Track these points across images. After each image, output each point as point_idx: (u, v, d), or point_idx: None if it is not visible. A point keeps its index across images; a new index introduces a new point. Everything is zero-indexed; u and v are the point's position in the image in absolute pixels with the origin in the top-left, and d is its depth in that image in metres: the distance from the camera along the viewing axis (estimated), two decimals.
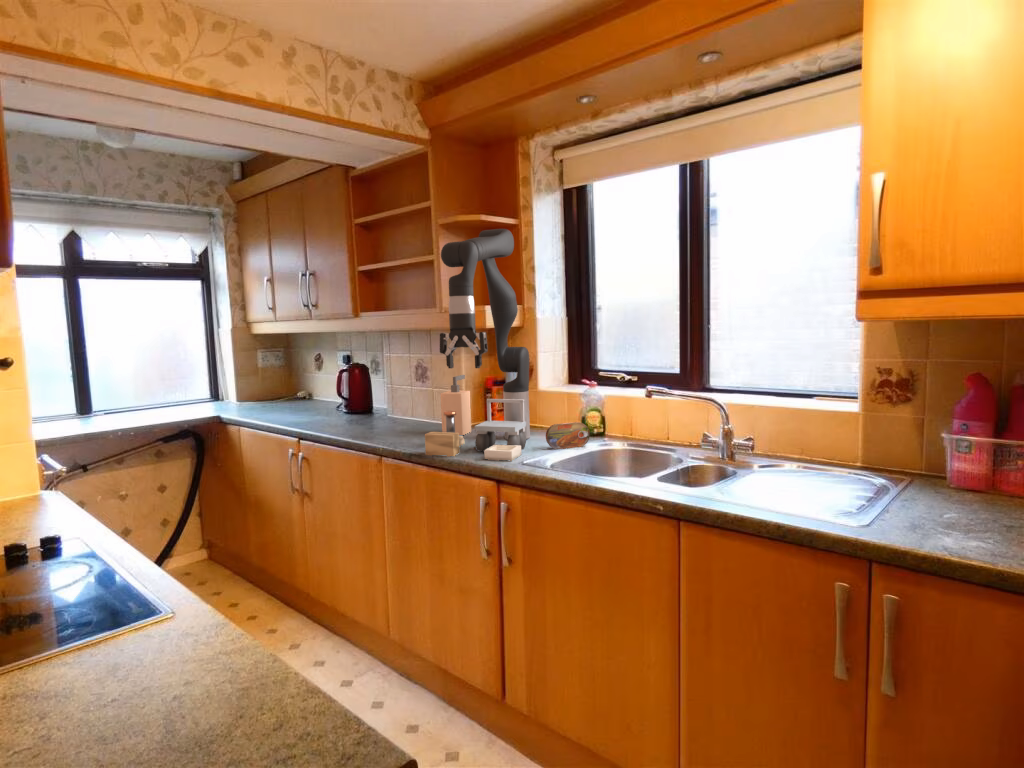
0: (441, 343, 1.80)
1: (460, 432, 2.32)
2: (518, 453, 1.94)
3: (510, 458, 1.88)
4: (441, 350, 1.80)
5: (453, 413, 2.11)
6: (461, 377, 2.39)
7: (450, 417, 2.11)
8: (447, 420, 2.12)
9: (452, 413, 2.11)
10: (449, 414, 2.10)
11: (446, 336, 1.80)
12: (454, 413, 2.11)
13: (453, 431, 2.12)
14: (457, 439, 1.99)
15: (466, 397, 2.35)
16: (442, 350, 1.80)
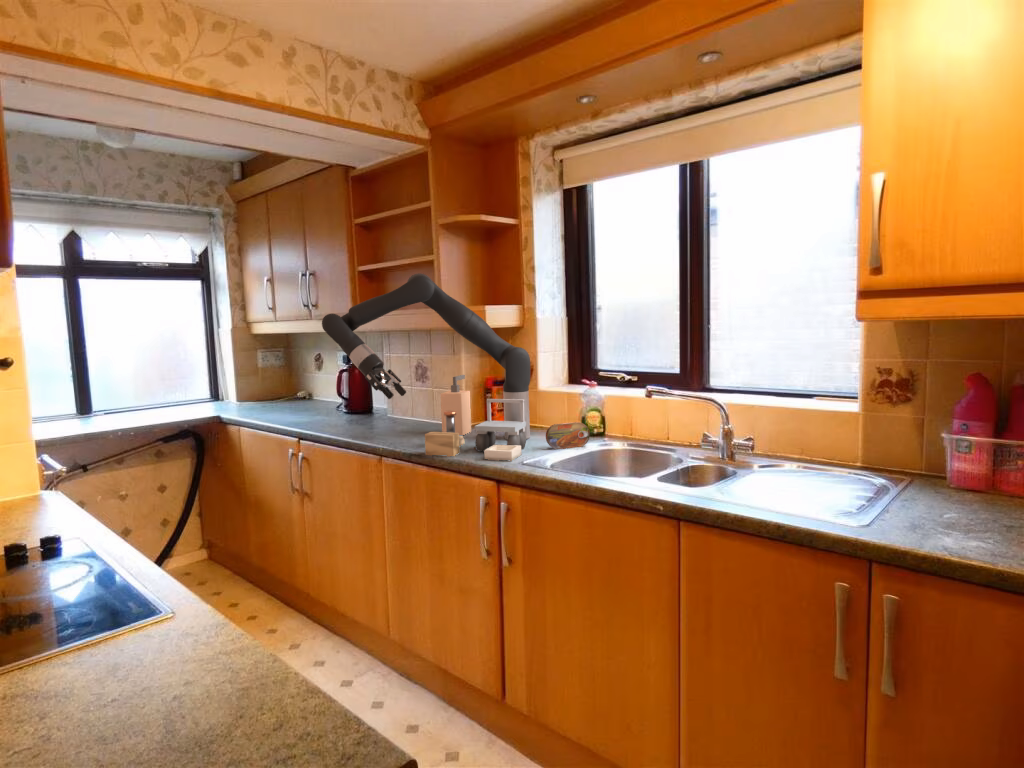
0: None
1: (460, 432, 2.32)
2: (518, 453, 1.94)
3: (510, 458, 1.88)
4: None
5: (453, 413, 2.11)
6: (461, 377, 2.39)
7: (450, 417, 2.11)
8: (447, 420, 2.12)
9: (452, 413, 2.11)
10: (449, 414, 2.10)
11: None
12: (454, 413, 2.11)
13: (453, 431, 2.12)
14: (457, 439, 1.99)
15: (466, 397, 2.35)
16: None
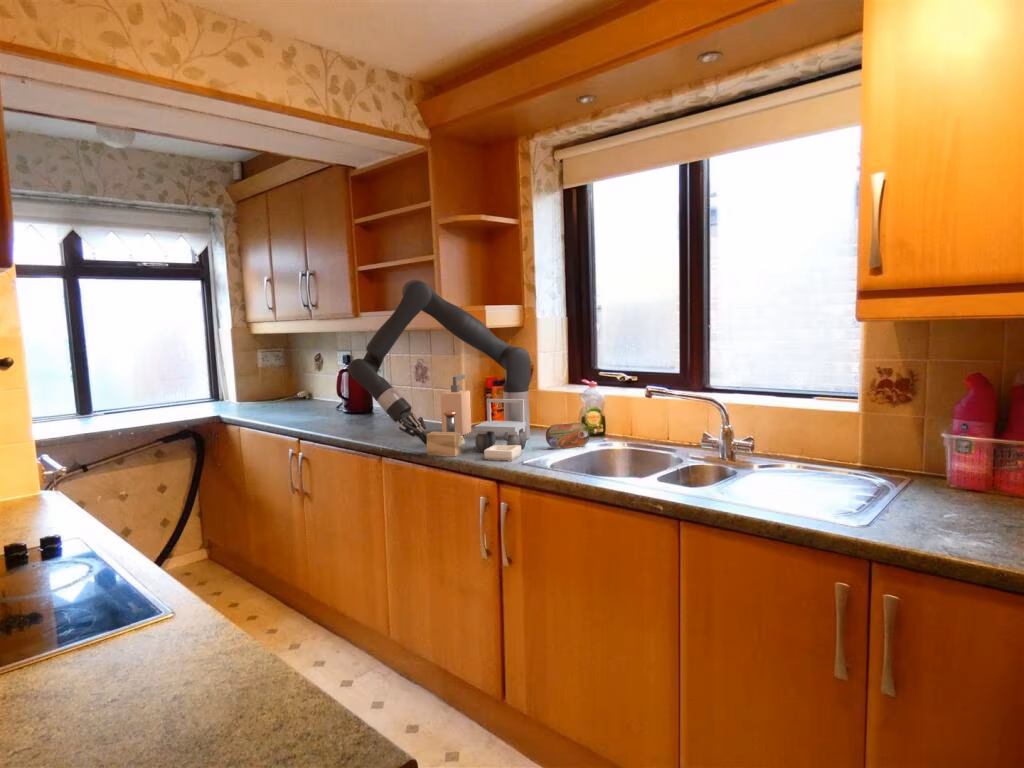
0: None
1: (460, 432, 2.32)
2: (518, 453, 1.94)
3: (510, 458, 1.88)
4: None
5: (452, 413, 2.10)
6: (461, 377, 2.39)
7: (450, 417, 2.11)
8: (447, 420, 2.11)
9: (452, 413, 2.10)
10: (449, 414, 2.10)
11: None
12: (454, 413, 2.11)
13: (453, 431, 2.12)
14: (458, 439, 1.99)
15: (466, 397, 2.35)
16: None
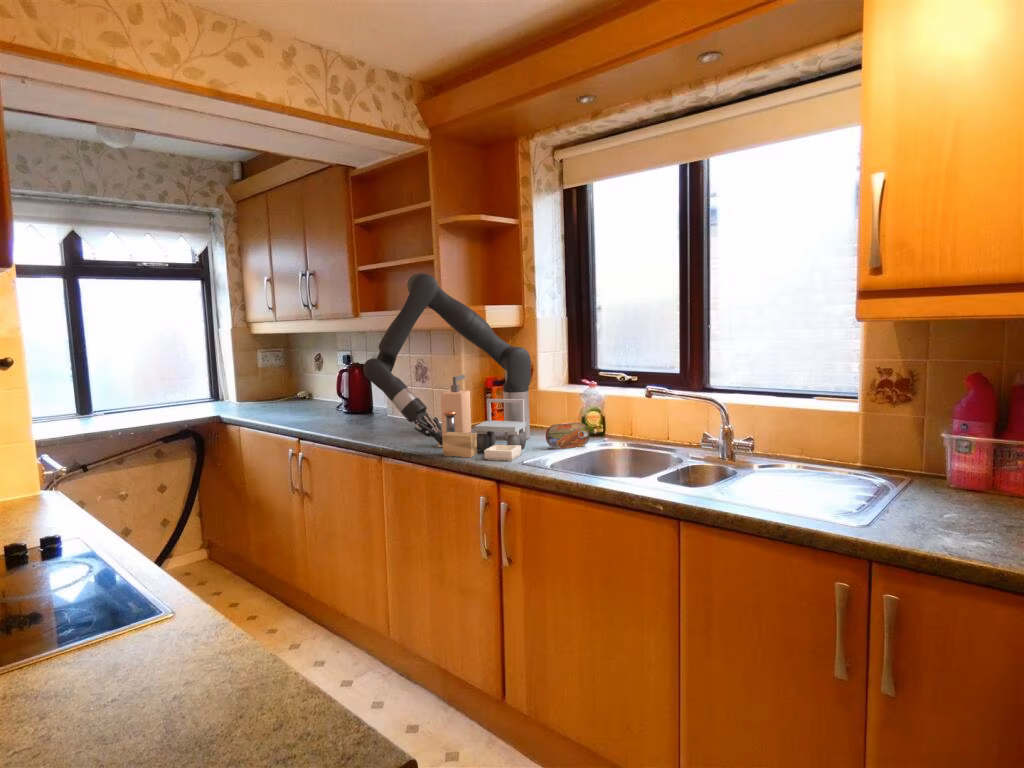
0: None
1: (460, 432, 2.32)
2: (518, 453, 1.94)
3: (510, 458, 1.88)
4: None
5: (453, 413, 2.10)
6: (461, 377, 2.39)
7: (450, 417, 2.11)
8: (447, 420, 2.11)
9: (452, 413, 2.10)
10: (449, 414, 2.10)
11: None
12: (454, 413, 2.11)
13: (453, 431, 2.12)
14: (474, 440, 1.97)
15: (466, 397, 2.35)
16: None
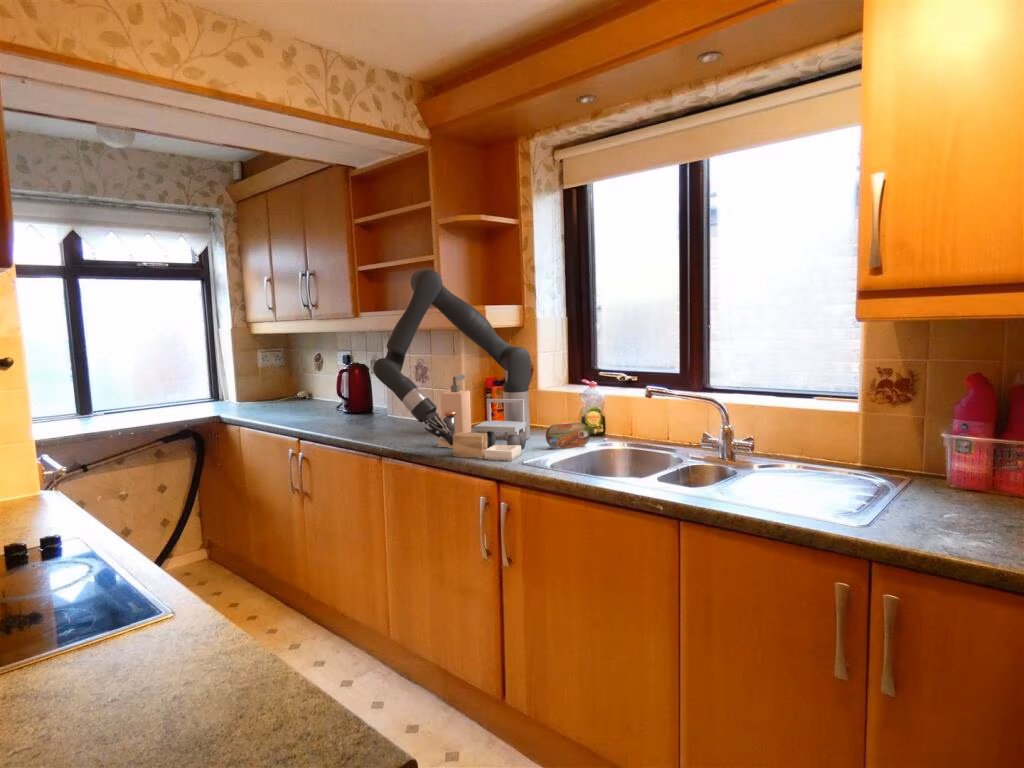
0: None
1: (460, 432, 2.32)
2: (518, 453, 1.94)
3: (510, 458, 1.88)
4: None
5: (452, 413, 2.10)
6: (461, 377, 2.39)
7: (450, 417, 2.11)
8: None
9: (452, 413, 2.10)
10: (449, 414, 2.10)
11: None
12: (454, 413, 2.11)
13: (453, 431, 2.12)
14: (485, 440, 1.96)
15: (466, 397, 2.35)
16: None
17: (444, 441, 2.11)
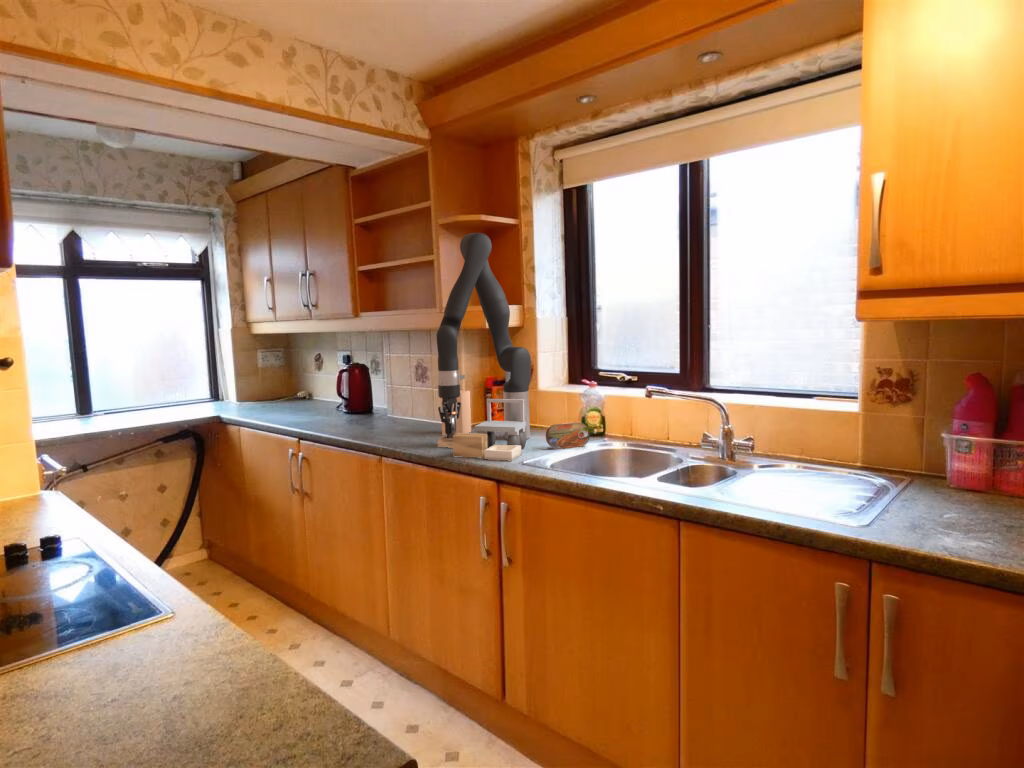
0: None
1: (460, 432, 2.32)
2: (518, 453, 1.94)
3: (510, 458, 1.88)
4: None
5: (453, 413, 2.10)
6: (461, 377, 2.39)
7: None
8: None
9: None
10: None
11: None
12: (454, 413, 2.11)
13: (453, 431, 2.12)
14: (485, 440, 1.96)
15: (466, 397, 2.35)
16: None
17: (444, 441, 2.11)
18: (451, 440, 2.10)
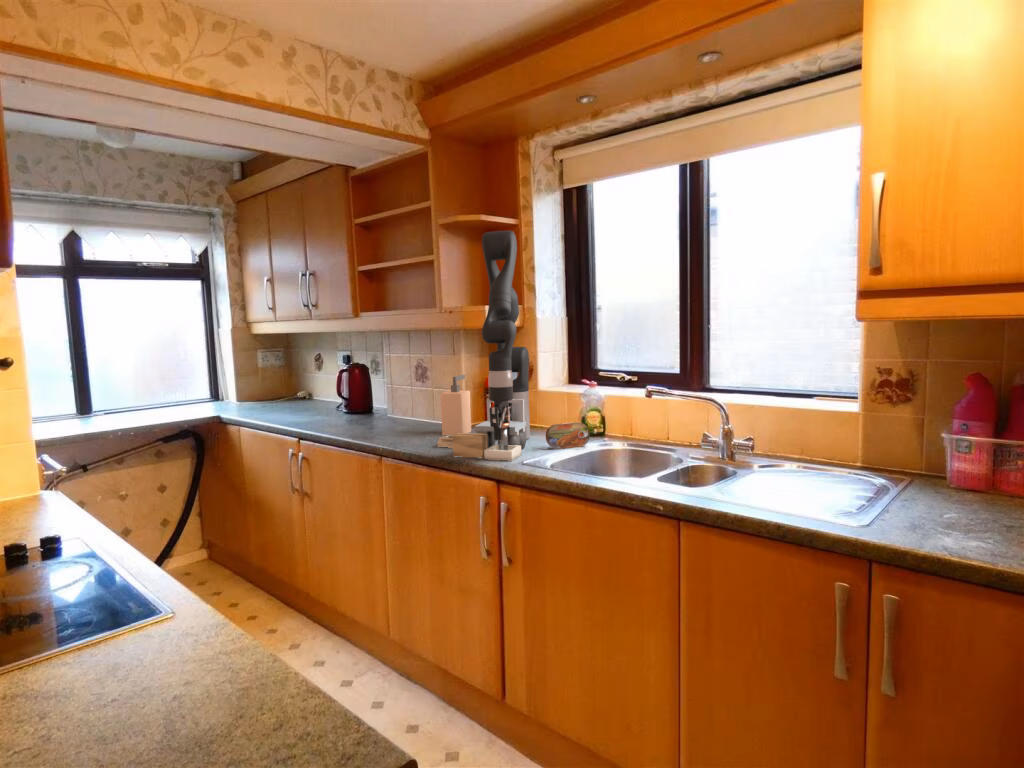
0: None
1: (460, 432, 2.32)
2: (518, 453, 1.94)
3: (510, 458, 1.88)
4: None
5: (505, 425, 1.91)
6: (461, 377, 2.39)
7: (503, 429, 1.91)
8: None
9: (505, 425, 1.91)
10: (501, 426, 1.90)
11: None
12: (507, 425, 1.91)
13: (506, 445, 1.92)
14: (485, 440, 1.96)
15: (466, 397, 2.35)
16: None
17: (444, 441, 2.11)
18: (451, 440, 2.10)
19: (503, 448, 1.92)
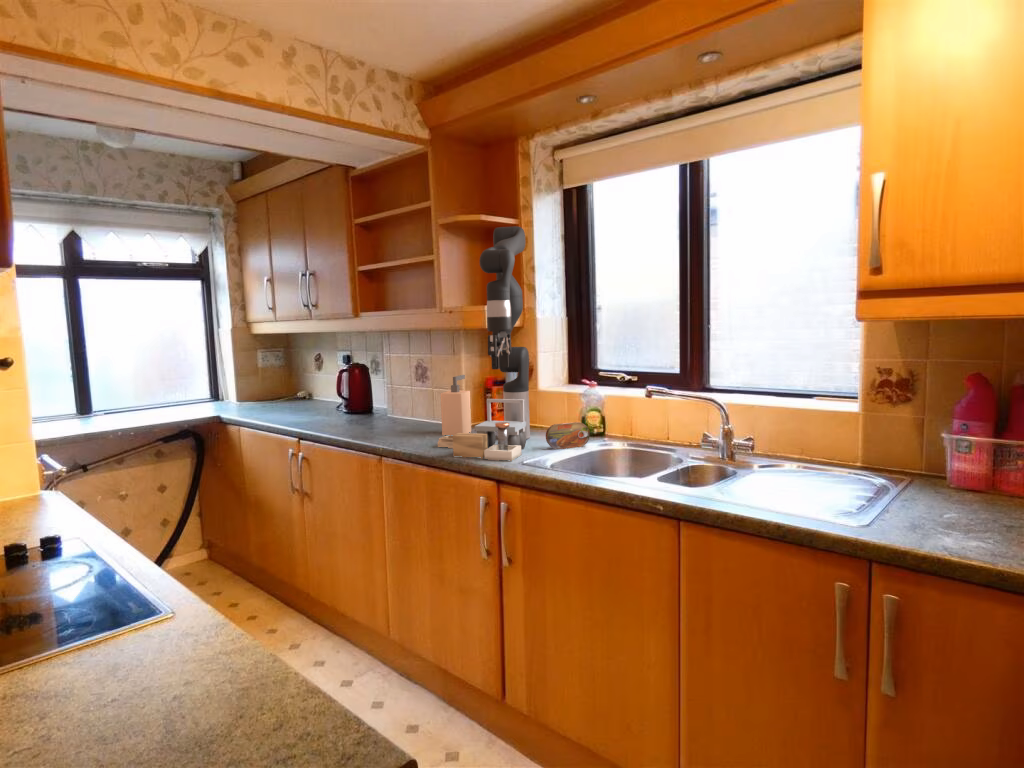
0: None
1: (460, 432, 2.32)
2: (518, 453, 1.94)
3: (510, 458, 1.88)
4: None
5: (505, 425, 1.91)
6: (461, 377, 2.39)
7: (503, 429, 1.91)
8: (499, 433, 1.92)
9: (505, 425, 1.91)
10: (501, 426, 1.90)
11: None
12: (507, 425, 1.91)
13: (506, 445, 1.92)
14: (485, 440, 1.96)
15: (466, 397, 2.35)
16: (503, 350, 1.96)
17: (444, 441, 2.11)
18: (451, 440, 2.10)
19: (503, 448, 1.92)
